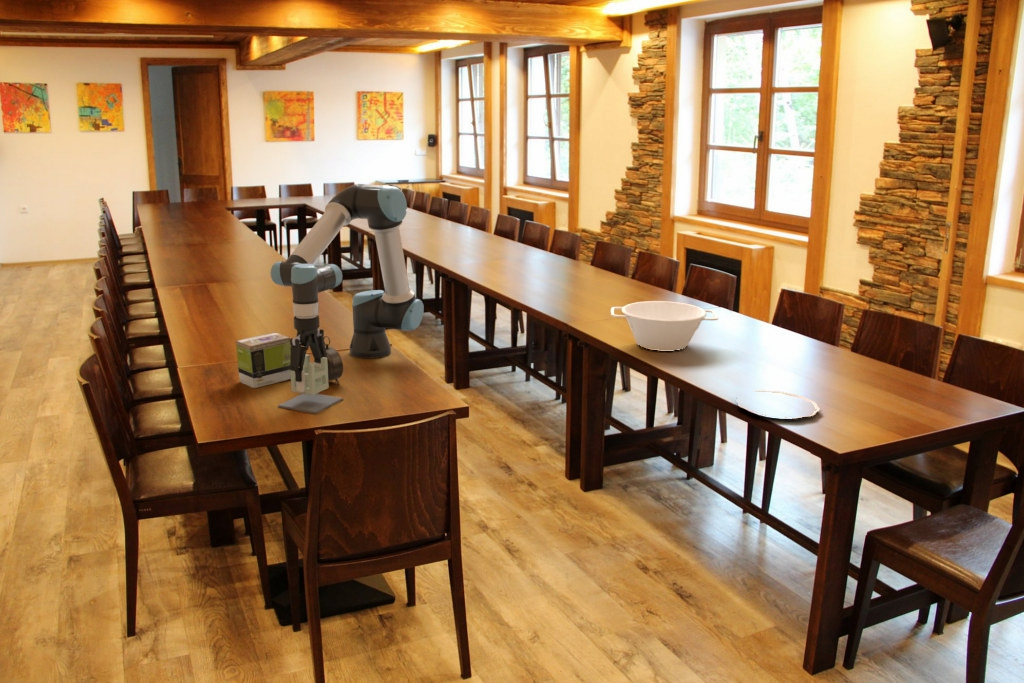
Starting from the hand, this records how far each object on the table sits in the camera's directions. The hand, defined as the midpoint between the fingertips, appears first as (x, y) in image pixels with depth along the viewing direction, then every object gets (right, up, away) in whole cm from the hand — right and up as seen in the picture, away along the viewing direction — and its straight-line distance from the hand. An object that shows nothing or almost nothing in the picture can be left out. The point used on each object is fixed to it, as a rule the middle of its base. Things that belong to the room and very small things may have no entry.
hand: (310, 386), depth 275 cm
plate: (+145, -7, +1) cm, 145 cm away
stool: (0, -1, 0) cm, 1 cm away
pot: (+120, +12, +69) cm, 139 cm away
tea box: (-20, +1, +23) cm, 30 cm away
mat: (0, -5, +1) cm, 5 cm away
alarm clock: (+1, 0, +21) cm, 21 cm away
